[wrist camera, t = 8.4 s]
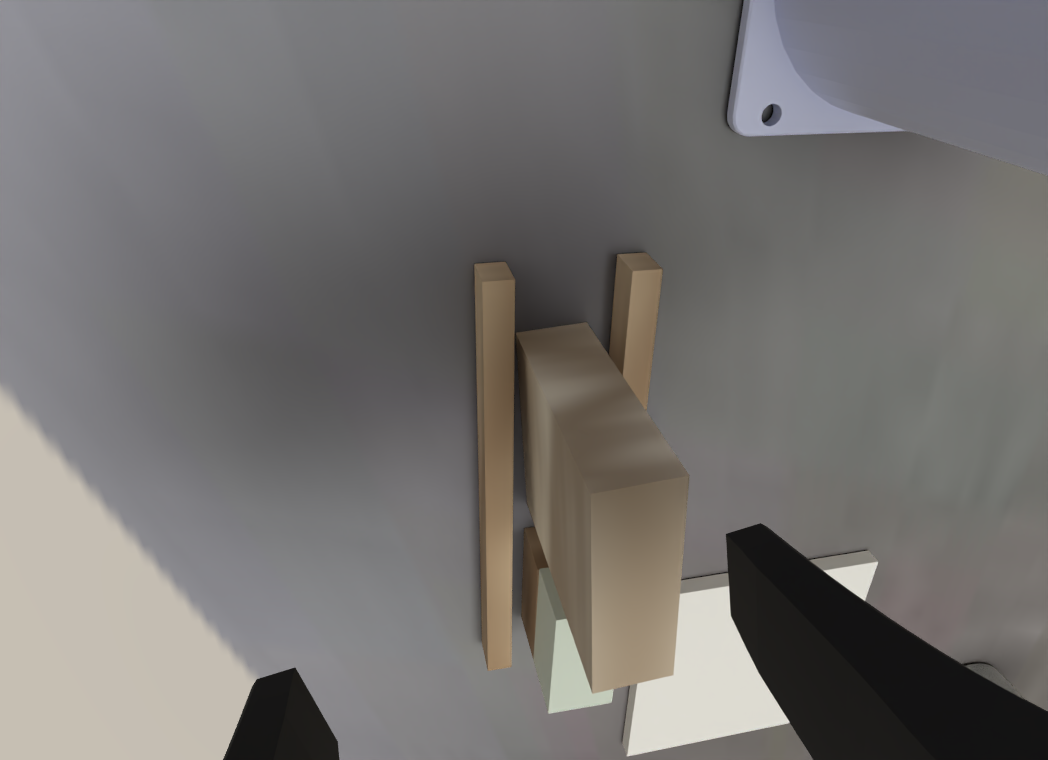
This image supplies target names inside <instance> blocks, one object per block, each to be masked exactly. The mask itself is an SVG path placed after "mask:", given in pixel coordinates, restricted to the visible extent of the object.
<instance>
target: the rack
mask: <svg viewBox="0 0 1048 760" xmlns="http://www.w3.org/2000/svg"><path fill="white" fill-rule="evenodd" d="M474 270H475V320H476V370H477V420H478V470H479V520H480V570H481V620H482V645H483V650H484V654H485V659H486V664H487V669H488V671H490V670H496V669H502V668H507V667H511V652H512V548H513V443H514V339H515V279H514V277H513V275H512V273H511V271H510V269H509V267H508V266H507V264H506V262H494V263H478V264H474ZM662 273H663V269H662V268H661V267H660V266H659V265H658V264H657V263H656V262H655V261H654V260H653V259H652V258H651V257H650V256H649V255H648V254H647V253H646V252H645V253H630V254H617V264H616V276H615V288H614V300H613V312H612V324H611V336H610V348H609V356H610V358H611V359H612V361H613V362H614V364H615V365H616V367H617V368H618V370H619V371H620V373H621V374H622V376H623V377H624V379H625V380H626V382H627V383H628V385H629V386H630V388H631V389H632V391H633V392H634V394H635V395H636V397H637V398H638V400H639V401H640V403H641V404H642V406H643V407H644V409H645V410H647V401H648V393H649V384H650V375H651V367H652V358H653V350H654V341H655V333H656V324H657V316H658V307H659V299H660V290H661V281H662Z"/></svg>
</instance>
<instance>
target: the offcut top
mask: <svg viewBox="0 0 1048 760" xmlns="http://www.w3.org/2000/svg"><path fill="white" fill-rule="evenodd" d="M533 660H534V664H535V667H536V671H537V674H538V678H539V682H540V685H541V689H542V692H543V696H544V700H545V703H546V707H547V710H548V714H549V713H555V712H561V711H566V710H572V709H578V708H584V707H590V706H595V705H601V704H607V703H611V702H612V696H613V689H611V690H607V691H603V692H598V693H594V694H592V691H591V688H590V685H589V683H588V680H587V677H586V674H585V671H584V668H583V665H582V662H581V659H580V656H579V653H578V651H577V648H576V645H575V642H574V639H573V636H572V633H571V630H570V627H569V624H568V621H567V619H566V616H565V613H564V610H563V607H562V604H561V601H560V598H559V595H558V592H557V589H556V586H555V584H554V581H553V578H552V575H551V572H550V569H549V568H541V569H539V583H538V598H537V613H536V628H535V644H534V659H533Z"/></svg>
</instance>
